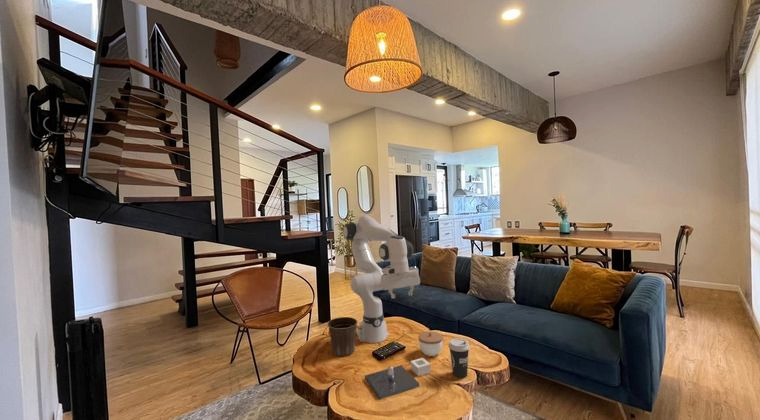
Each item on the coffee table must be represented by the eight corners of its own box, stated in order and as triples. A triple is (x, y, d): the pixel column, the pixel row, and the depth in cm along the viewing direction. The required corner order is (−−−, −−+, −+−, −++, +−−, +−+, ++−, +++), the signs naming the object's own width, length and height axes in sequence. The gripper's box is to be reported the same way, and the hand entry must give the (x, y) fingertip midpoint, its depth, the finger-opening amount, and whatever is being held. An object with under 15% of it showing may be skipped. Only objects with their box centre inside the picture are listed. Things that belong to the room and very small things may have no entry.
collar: (410, 369, 155) (410, 361, 155) (423, 365, 157) (422, 357, 157) (418, 376, 148) (417, 367, 148) (430, 372, 151) (430, 364, 151)
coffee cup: (455, 381, 143) (454, 348, 142) (445, 370, 152) (444, 339, 151) (474, 377, 145) (473, 344, 145) (463, 366, 155) (462, 336, 154)
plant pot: (361, 344, 183) (359, 316, 183) (356, 358, 167) (354, 328, 167) (333, 344, 185) (331, 316, 184) (325, 358, 169) (323, 328, 168)
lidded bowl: (436, 361, 161) (435, 340, 160) (414, 355, 168) (413, 334, 168) (447, 351, 171) (446, 330, 170) (426, 345, 178) (425, 326, 178)
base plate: (364, 378, 149) (364, 363, 148) (401, 368, 156) (400, 353, 156) (379, 399, 133) (378, 382, 133) (419, 386, 141) (418, 370, 140)
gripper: (414, 265, 166) (417, 292, 165) (378, 270, 158) (380, 298, 157) (421, 266, 160) (423, 294, 159) (383, 271, 152) (385, 301, 151)
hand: (401, 296), depth 158 cm, fingers open, 8 cm apart
